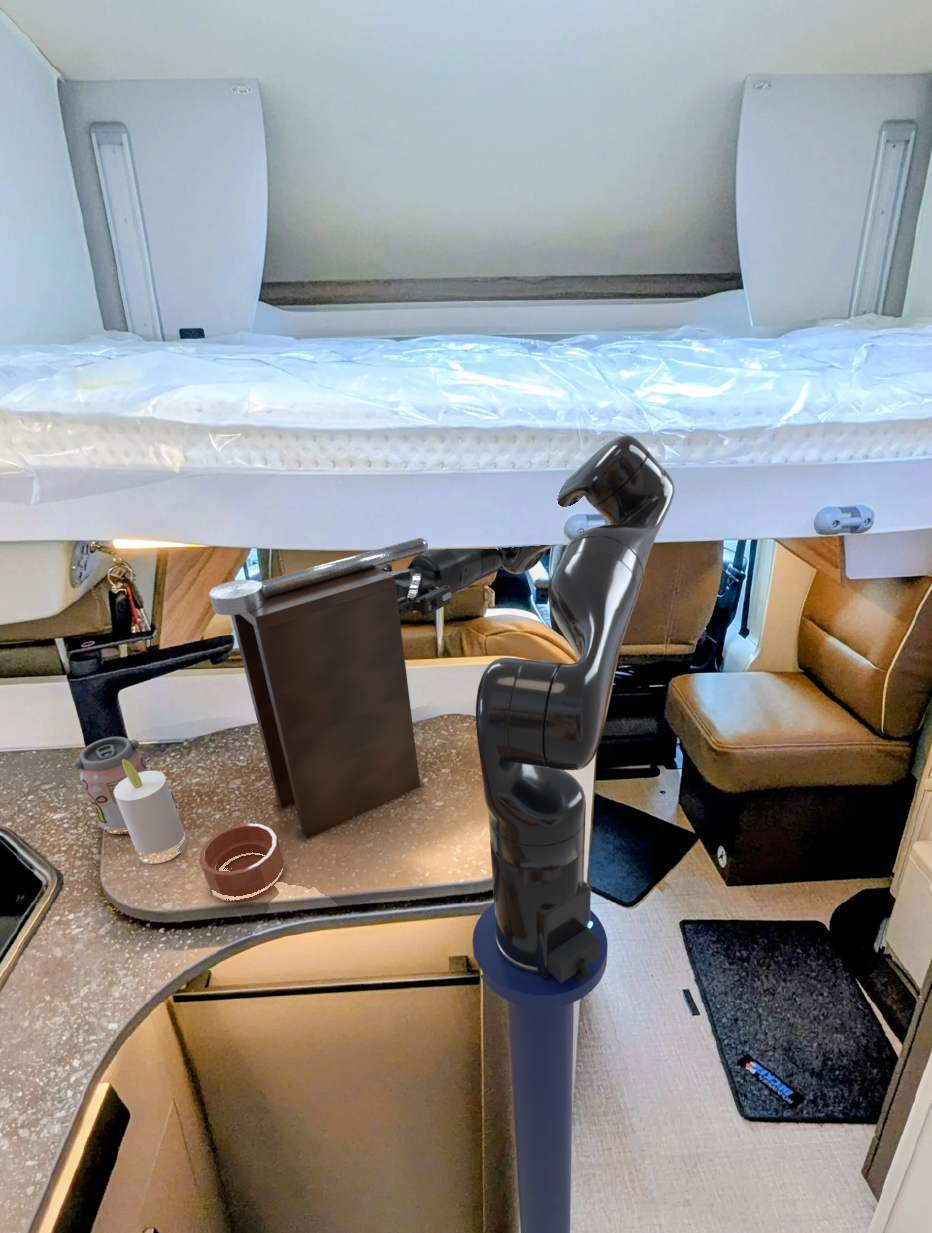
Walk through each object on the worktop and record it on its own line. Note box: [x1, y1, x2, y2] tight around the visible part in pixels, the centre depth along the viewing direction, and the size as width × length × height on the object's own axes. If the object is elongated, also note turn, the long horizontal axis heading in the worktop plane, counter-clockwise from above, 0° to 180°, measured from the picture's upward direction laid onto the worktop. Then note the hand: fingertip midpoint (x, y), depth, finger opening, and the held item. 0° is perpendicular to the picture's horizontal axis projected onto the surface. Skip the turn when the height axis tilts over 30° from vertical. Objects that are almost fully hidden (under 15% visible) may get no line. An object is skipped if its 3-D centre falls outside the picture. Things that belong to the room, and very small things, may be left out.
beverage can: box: [72, 736, 149, 835], centre depth 98 cm, size 9×8×12 cm
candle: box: [113, 759, 188, 854], centre depth 91 cm, size 6×6×15 cm
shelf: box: [230, 566, 421, 840], centre depth 94 cm, size 18×10×32 cm, turn 124°
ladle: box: [208, 537, 429, 616], centre depth 87 cm, size 29×6×2 cm, turn 124°
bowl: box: [198, 822, 285, 903], centre depth 87 cm, size 9×9×5 cm
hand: (366, 604), depth 99 cm, fingers open, 8 cm apart
